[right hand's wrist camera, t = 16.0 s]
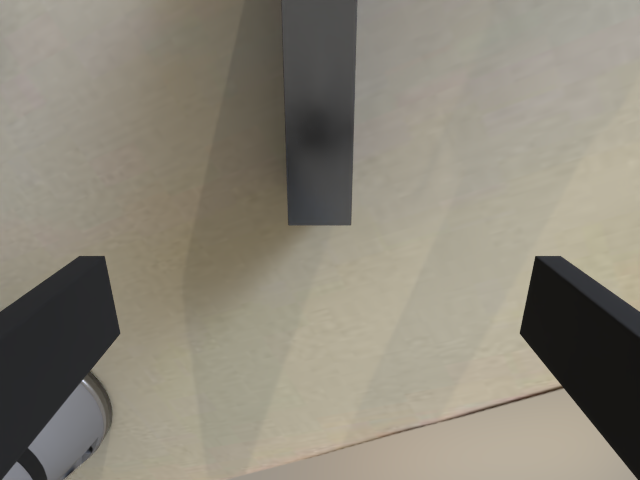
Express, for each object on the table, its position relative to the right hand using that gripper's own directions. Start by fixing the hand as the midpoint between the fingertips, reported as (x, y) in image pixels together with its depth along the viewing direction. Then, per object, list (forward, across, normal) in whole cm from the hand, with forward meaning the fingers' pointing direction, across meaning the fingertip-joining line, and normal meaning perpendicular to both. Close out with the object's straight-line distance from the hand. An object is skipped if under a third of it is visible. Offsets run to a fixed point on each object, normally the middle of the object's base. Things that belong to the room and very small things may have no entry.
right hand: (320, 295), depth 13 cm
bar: (+24, 0, -10) cm, 26 cm away
